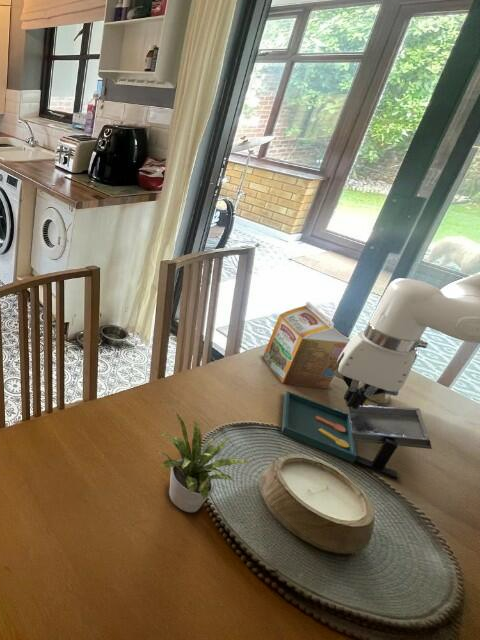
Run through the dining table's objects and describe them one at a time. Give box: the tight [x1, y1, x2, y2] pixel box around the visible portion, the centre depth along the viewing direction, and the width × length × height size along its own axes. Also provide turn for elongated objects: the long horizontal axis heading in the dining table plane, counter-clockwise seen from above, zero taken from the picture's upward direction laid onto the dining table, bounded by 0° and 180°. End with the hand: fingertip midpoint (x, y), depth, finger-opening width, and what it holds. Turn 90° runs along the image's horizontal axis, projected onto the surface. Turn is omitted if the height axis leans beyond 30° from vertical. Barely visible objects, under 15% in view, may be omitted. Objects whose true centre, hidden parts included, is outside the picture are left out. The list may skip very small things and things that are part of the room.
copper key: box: [315, 416, 346, 433], centre depth 93 cm, size 5×2×1 cm, turn 44°
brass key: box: [318, 428, 349, 448], centre depth 89 cm, size 5×2×1 cm, turn 29°
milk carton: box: [262, 301, 350, 389], centre depth 106 cm, size 11×11×19 cm
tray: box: [281, 390, 358, 464], centre depth 92 cm, size 12×14×2 cm
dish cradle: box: [355, 402, 399, 481], centre depth 86 cm, size 6×14×8 cm, turn 143°
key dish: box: [347, 404, 433, 450], centre depth 85 cm, size 11×10×2 cm
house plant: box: [155, 408, 251, 513], centre depth 74 cm, size 14×14×16 cm
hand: (350, 404), depth 91 cm, fingers closed
